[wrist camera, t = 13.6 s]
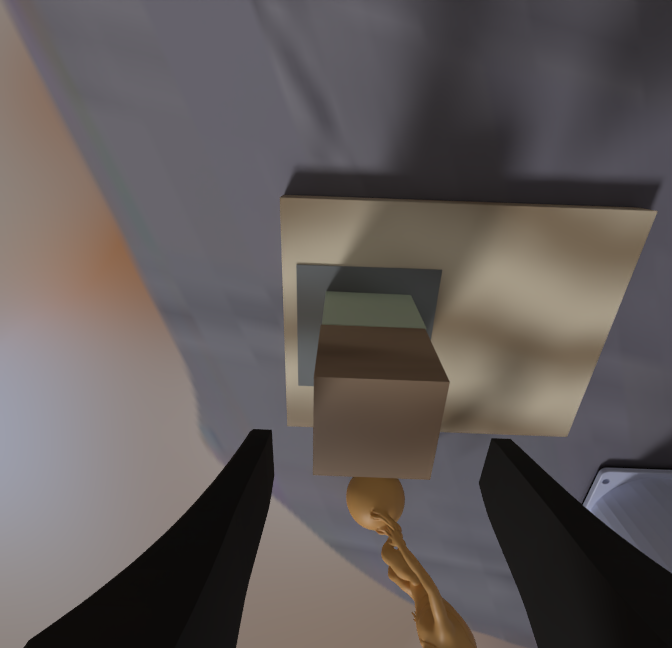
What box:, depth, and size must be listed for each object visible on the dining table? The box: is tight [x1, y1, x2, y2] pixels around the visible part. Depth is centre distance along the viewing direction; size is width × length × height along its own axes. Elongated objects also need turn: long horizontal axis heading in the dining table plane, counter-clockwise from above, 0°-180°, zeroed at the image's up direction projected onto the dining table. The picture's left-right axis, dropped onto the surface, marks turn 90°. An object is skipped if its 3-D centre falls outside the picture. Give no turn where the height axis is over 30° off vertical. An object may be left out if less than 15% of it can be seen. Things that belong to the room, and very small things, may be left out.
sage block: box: [322, 291, 426, 329], centre depth 18 cm, size 4×4×4 cm
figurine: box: [346, 477, 477, 648], centre depth 21 cm, size 8×6×12 cm
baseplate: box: [280, 195, 657, 437], centre depth 21 cm, size 14×18×1 cm
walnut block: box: [313, 325, 450, 480], centre depth 15 cm, size 4×4×4 cm
